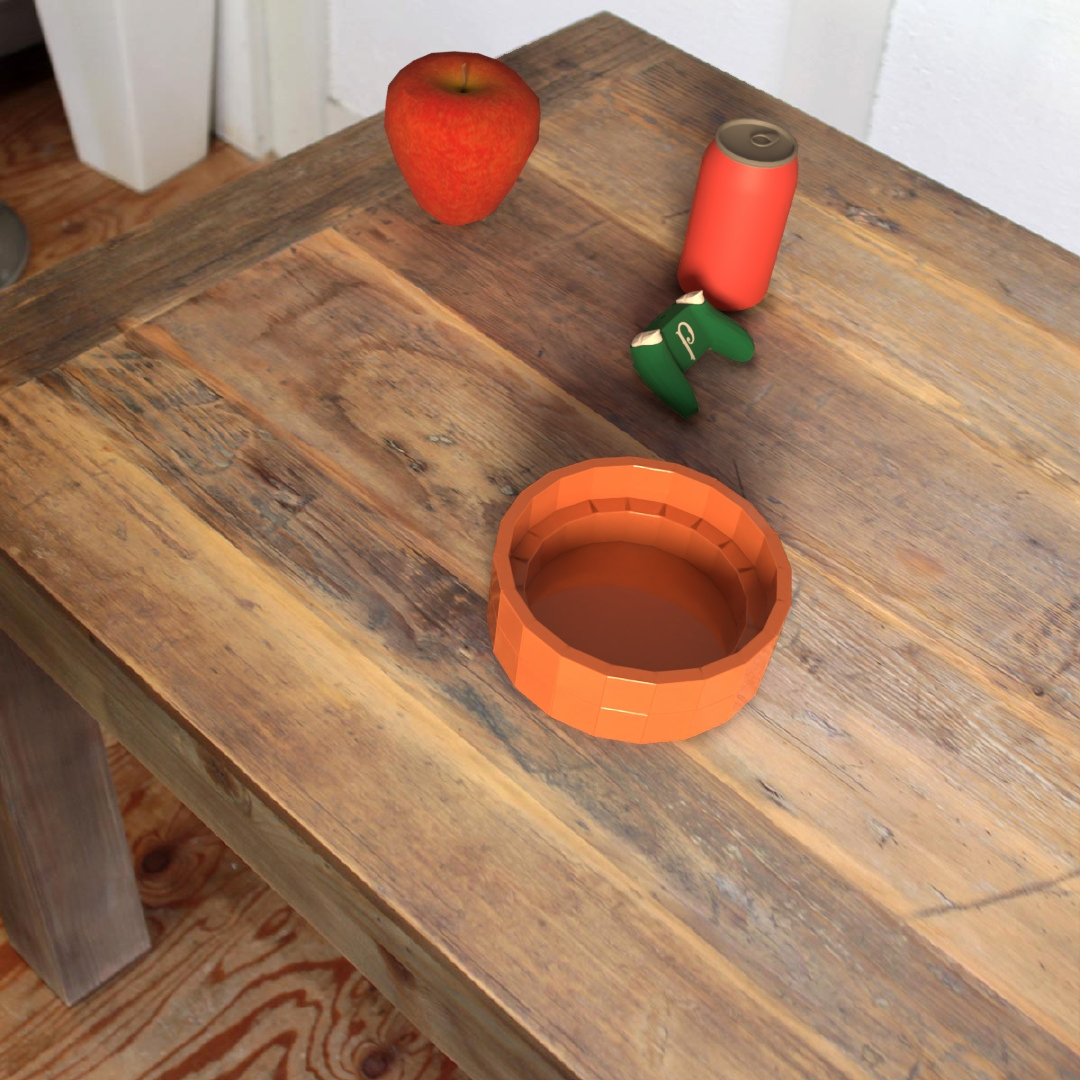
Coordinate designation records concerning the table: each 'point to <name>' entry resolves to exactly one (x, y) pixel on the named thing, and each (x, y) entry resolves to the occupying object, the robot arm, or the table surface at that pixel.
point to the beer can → (739, 213)
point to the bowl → (636, 598)
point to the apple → (460, 132)
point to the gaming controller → (685, 348)
